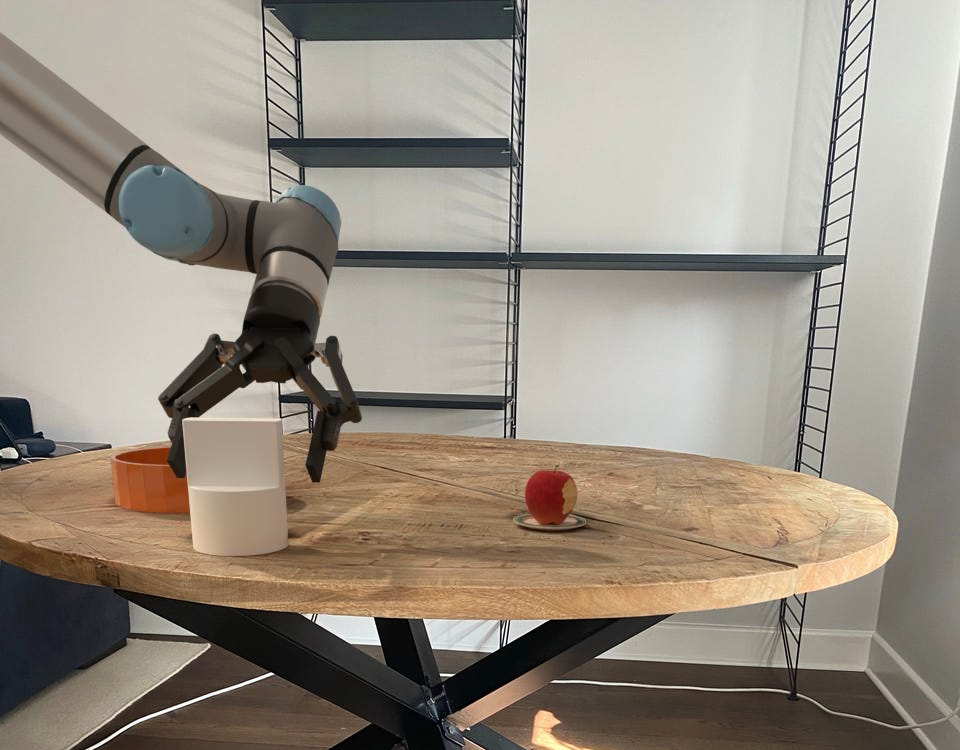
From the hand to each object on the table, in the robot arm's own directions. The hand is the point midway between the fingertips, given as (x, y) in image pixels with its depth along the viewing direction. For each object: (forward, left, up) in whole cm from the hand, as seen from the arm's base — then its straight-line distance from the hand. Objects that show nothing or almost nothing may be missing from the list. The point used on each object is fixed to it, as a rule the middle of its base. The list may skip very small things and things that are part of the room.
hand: (243, 472), depth 87 cm
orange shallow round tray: (-14, +17, -7) cm, 24 cm away
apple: (+28, +17, -7) cm, 33 cm away
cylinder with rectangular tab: (0, -1, -7) cm, 7 cm away
